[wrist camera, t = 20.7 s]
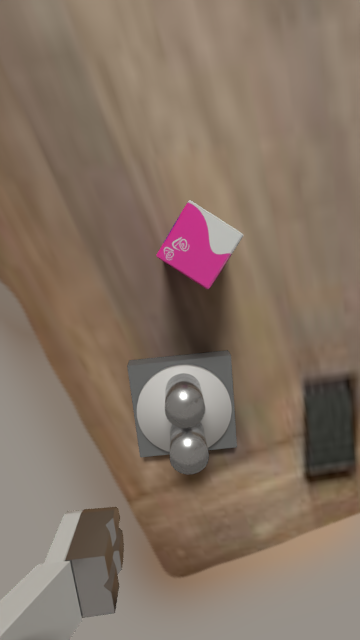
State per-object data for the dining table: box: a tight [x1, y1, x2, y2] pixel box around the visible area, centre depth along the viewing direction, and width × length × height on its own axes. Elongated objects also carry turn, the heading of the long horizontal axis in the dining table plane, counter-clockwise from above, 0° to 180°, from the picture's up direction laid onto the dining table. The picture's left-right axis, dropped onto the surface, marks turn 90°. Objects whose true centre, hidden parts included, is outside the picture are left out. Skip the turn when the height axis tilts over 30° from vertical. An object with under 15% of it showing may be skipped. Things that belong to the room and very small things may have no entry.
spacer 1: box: [165, 373, 205, 428], centre depth 36 cm, size 4×4×5 cm
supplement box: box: [156, 200, 243, 289], centre depth 32 cm, size 6×6×12 cm
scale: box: [127, 350, 237, 457], centre depth 41 cm, size 13×14×4 cm
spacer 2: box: [170, 422, 209, 474], centre depth 38 cm, size 4×4×5 cm
